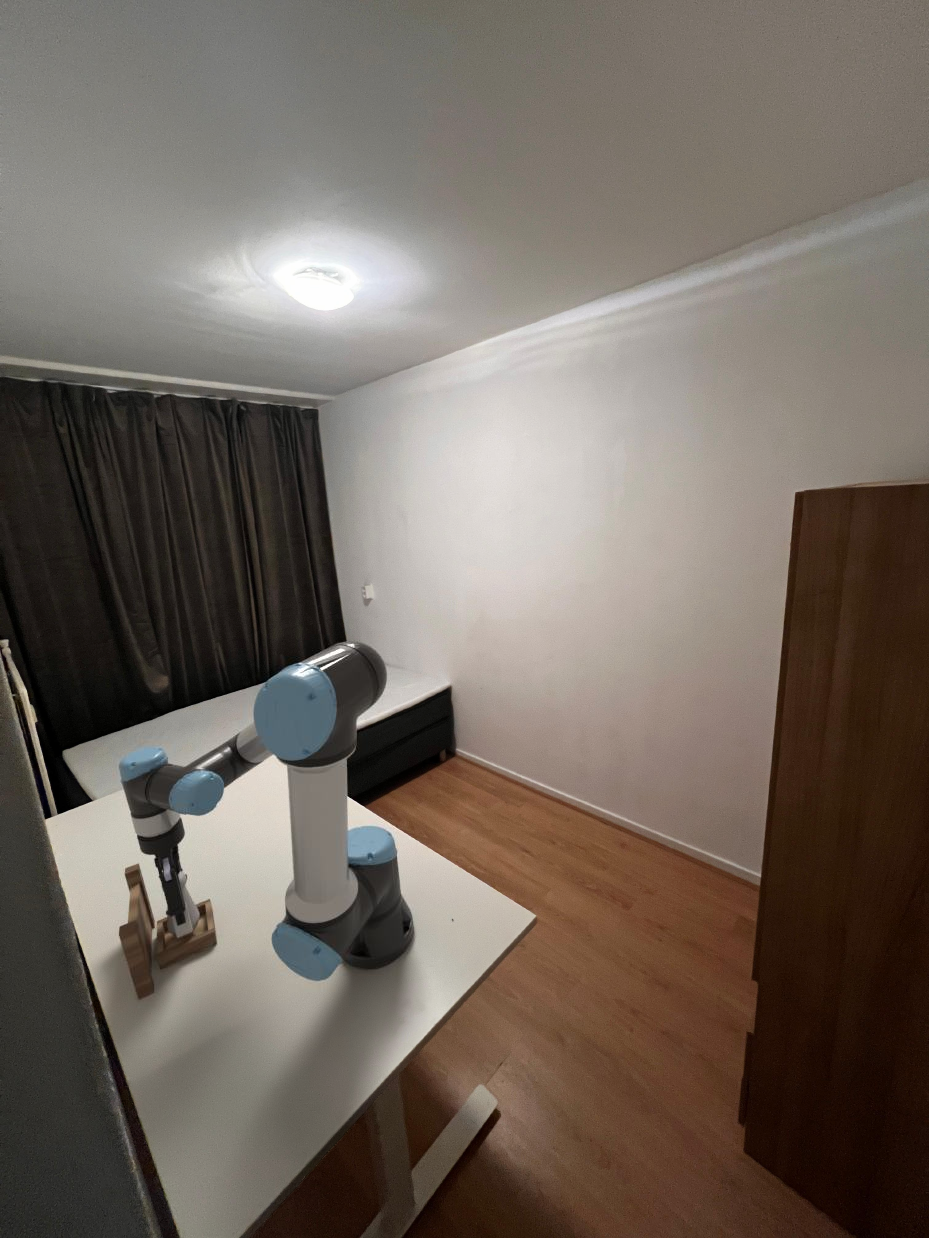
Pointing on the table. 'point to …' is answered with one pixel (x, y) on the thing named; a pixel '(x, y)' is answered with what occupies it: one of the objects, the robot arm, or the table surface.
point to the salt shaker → (191, 908)
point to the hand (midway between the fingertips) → (184, 921)
